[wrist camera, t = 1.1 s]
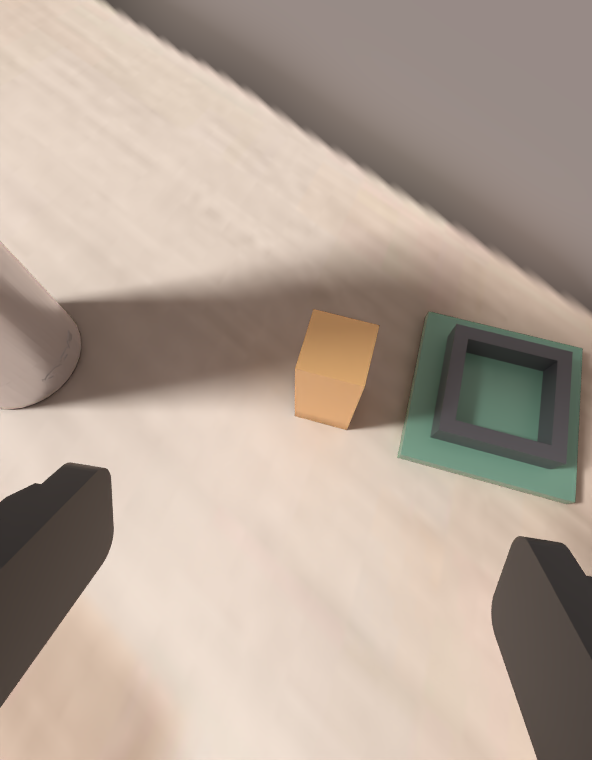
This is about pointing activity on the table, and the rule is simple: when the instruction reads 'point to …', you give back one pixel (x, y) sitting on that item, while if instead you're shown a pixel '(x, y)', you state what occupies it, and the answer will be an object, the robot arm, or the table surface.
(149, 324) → the table surface
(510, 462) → the board
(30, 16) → the table surface
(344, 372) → the tan cardboard box
